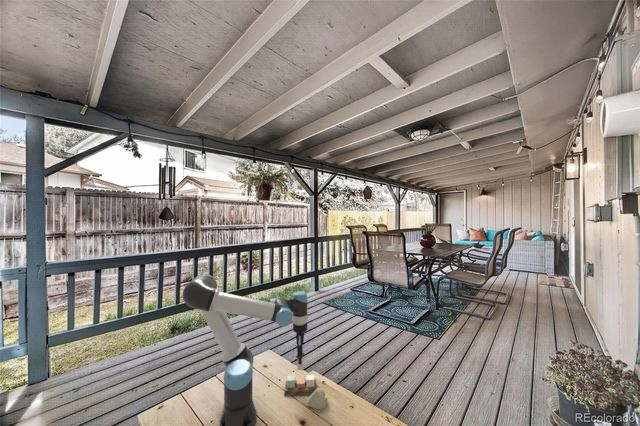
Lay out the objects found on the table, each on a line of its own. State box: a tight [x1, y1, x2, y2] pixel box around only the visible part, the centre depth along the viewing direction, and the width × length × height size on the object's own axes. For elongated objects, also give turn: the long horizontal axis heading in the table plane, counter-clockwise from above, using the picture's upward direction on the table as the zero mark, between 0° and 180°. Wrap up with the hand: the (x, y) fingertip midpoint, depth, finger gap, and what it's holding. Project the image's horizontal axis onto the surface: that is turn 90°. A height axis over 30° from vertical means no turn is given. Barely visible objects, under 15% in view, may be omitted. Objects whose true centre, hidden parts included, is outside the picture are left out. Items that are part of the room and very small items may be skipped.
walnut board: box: [283, 379, 317, 396], centre depth 125 cm, size 16×8×2 cm, turn 92°
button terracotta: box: [296, 377, 306, 388], centre depth 125 cm, size 4×4×4 cm
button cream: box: [305, 374, 315, 388], centre depth 125 cm, size 4×4×4 cm
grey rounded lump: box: [306, 388, 328, 410], centre depth 115 cm, size 8×8×8 cm
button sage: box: [286, 374, 296, 389], centre depth 125 cm, size 4×4×4 cm
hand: (300, 369), depth 125 cm, fingers closed
